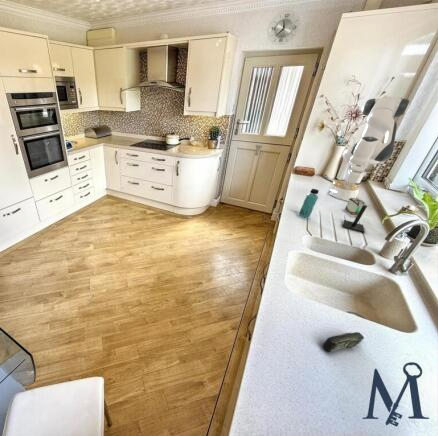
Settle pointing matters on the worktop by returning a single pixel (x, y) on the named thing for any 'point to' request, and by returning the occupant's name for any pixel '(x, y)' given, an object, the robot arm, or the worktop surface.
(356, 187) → the ring
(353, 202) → the food container
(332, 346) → the dark elongated rock
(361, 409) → the worktop surface
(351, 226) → the post
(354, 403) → the worktop surface
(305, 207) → the beverage bottle
